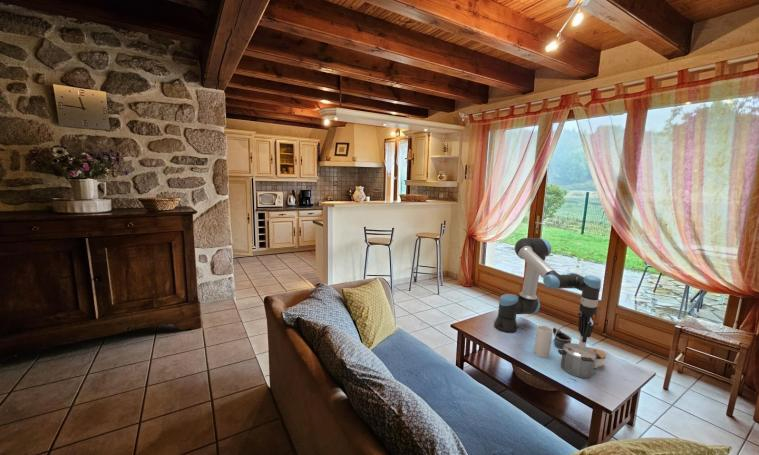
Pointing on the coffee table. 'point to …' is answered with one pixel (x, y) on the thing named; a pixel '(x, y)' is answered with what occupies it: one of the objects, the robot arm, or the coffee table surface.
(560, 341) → the mug
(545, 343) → the cup
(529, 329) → the coffee table surface
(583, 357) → the lid
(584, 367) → the pot
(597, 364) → the lidded jar
